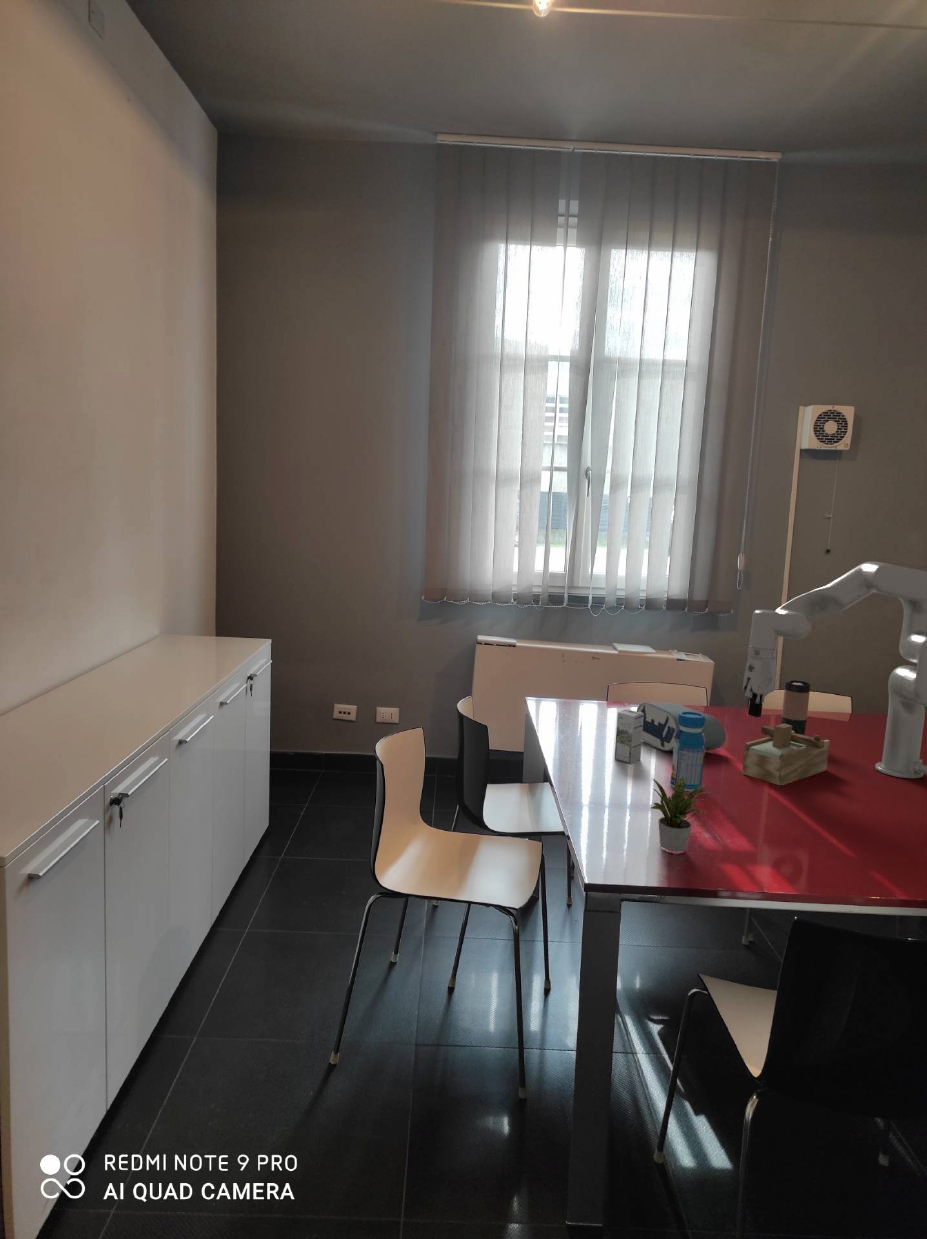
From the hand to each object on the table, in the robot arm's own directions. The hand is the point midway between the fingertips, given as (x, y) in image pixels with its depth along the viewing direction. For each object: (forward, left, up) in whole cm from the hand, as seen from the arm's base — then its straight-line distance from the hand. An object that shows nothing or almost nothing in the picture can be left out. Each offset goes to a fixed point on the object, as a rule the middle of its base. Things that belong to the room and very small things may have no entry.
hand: (754, 715), depth 246 cm
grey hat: (+25, 0, -16) cm, 30 cm away
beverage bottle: (0, +31, -16) cm, 34 cm away
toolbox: (-8, -6, -16) cm, 18 cm away
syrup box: (+24, +26, -16) cm, 39 cm away
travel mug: (+7, -36, -16) cm, 40 cm away
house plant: (-25, +69, -16) cm, 75 cm away
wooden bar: (-8, -8, -6) cm, 13 cm away
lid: (-8, -2, -9) cm, 12 cm away
